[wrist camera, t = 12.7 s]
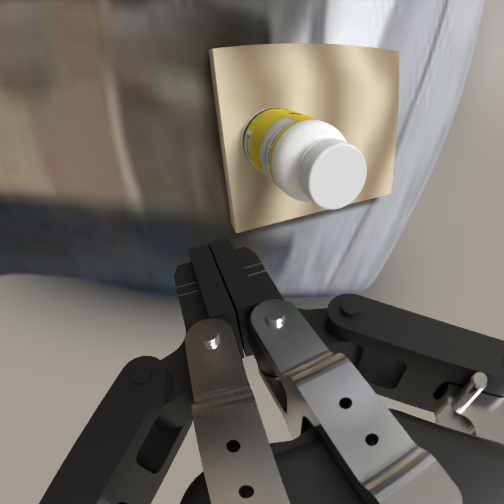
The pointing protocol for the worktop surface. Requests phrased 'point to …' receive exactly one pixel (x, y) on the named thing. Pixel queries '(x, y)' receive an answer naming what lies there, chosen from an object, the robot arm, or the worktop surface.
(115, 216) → the worktop surface
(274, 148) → the supplement bottle
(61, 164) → the worktop surface
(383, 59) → the birch board
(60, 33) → the worktop surface
